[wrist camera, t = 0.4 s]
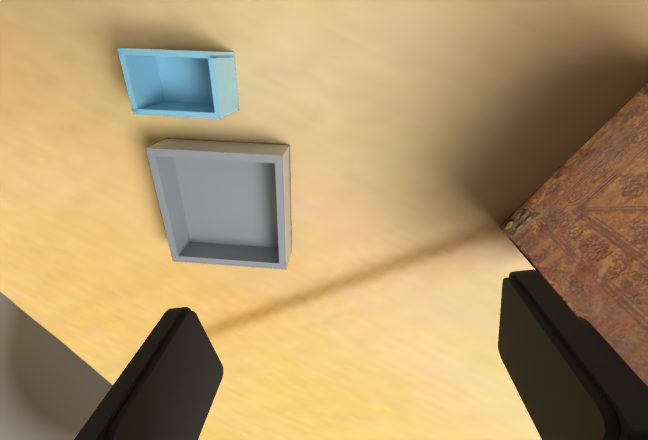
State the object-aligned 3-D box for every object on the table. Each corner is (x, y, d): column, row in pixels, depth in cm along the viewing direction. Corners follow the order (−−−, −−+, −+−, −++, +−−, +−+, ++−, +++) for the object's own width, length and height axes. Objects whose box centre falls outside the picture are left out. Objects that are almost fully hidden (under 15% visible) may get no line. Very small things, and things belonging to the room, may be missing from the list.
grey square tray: (166, 138, 43) (145, 148, 38) (290, 144, 42) (282, 155, 37) (188, 243, 51) (172, 261, 46) (291, 250, 50) (286, 269, 46)
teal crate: (152, 48, 38) (116, 48, 32) (234, 51, 37) (212, 51, 31) (163, 105, 41) (133, 114, 35) (239, 109, 40) (220, 118, 34)
